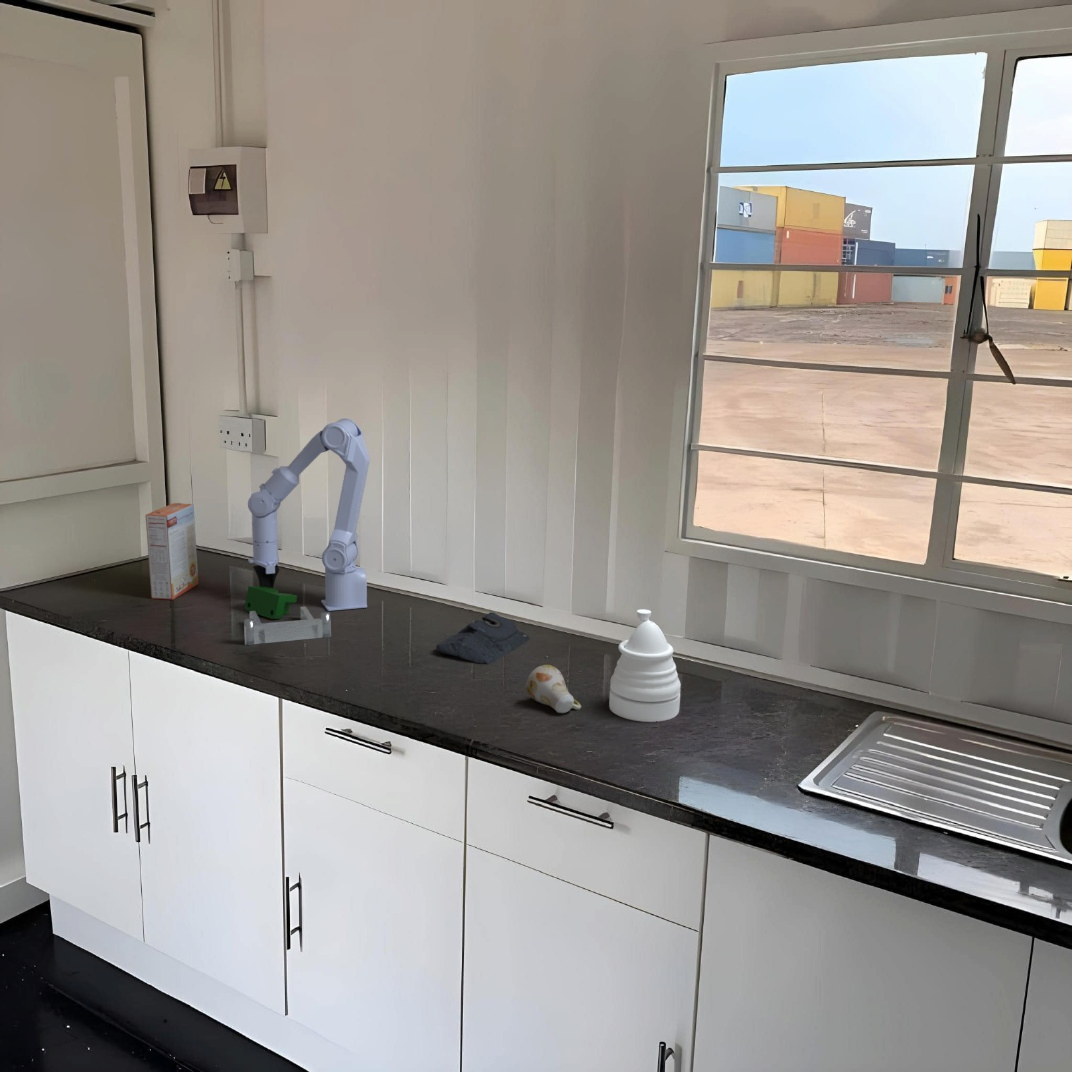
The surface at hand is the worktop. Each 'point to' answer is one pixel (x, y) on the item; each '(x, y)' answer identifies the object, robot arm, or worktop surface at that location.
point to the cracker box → (172, 550)
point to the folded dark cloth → (484, 640)
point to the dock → (286, 628)
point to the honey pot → (645, 676)
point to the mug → (550, 689)
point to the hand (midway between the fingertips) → (266, 595)
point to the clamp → (268, 602)
